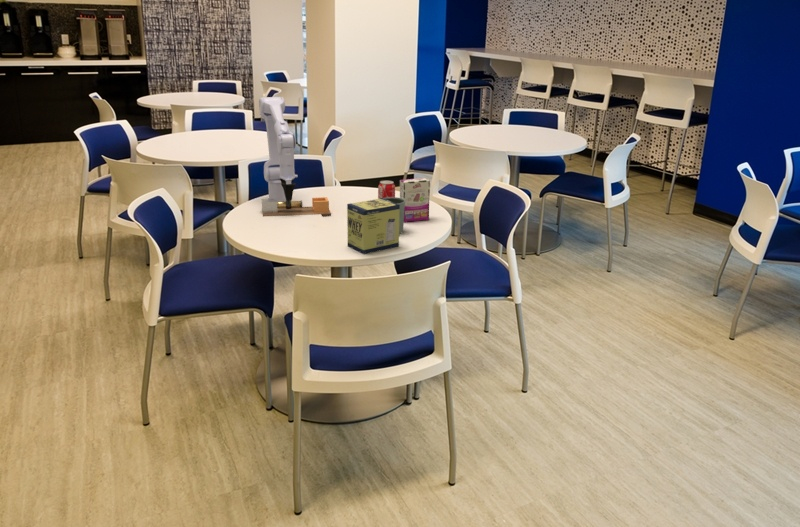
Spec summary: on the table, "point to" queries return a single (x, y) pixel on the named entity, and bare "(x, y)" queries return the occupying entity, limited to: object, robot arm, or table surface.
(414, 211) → the candy bar box
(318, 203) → the socket block
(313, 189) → the table surface
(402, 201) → the grey cup
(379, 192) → the soda can
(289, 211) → the base board
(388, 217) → the protein box
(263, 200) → the outer sleeve
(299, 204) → the inner tube
